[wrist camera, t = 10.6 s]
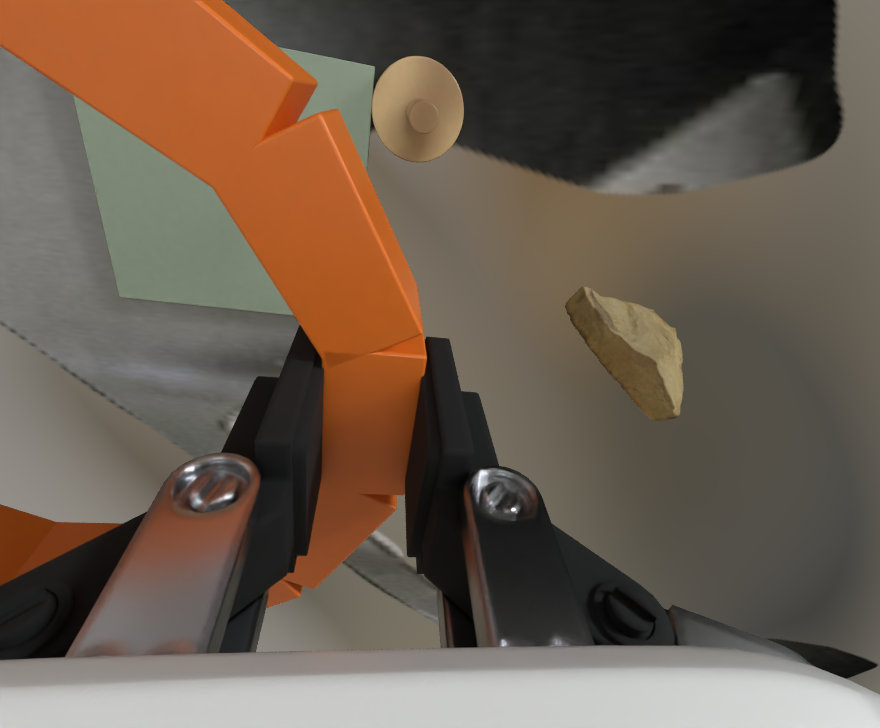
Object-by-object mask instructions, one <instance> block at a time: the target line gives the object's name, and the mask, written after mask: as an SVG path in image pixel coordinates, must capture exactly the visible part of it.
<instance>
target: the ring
mask: <svg viewBox="0 0 880 728" xmlns="http://www.w3.org/2000/svg"><path fill="white" fill-rule="evenodd" d="M0 46H1V47H3V48H4V49H6V50H7V51H9V52H10V53H12V54H13V55H15V56H16V57H18V58H19V59H21V60H22V61H24V62H25V63H27V64H28V65H30V66H31V67H33V68H34V69H36V70H37V71H39V72H40V73H42V74H43V75H45V76H46V77H48V78H49V79H51V80H52V81H54V82H55V83H57V84H58V85H60V86H61V87H63V88H64V89H66V90H67V91H69V92H70V93H72V94H73V95H75V96H76V97H78V98H79V99H81V100H82V101H84V102H85V103H87V104H88V105H90V106H91V107H93V108H94V109H96V110H97V111H99V112H100V113H102V114H103V115H104V116H106V117H107V118H109V119H110V120H112V121H113V122H115V123H116V124H118V125H119V126H121V127H122V128H124V129H125V130H127V131H128V132H130V133H131V134H133V135H134V136H136V137H137V138H139V139H140V140H142V141H143V142H145V143H146V144H148V145H149V146H151V147H152V148H154V149H155V150H157V151H158V152H160V153H161V154H163V155H164V156H166V157H167V158H169V159H170V160H172V161H173V162H175V163H176V164H178V165H179V166H181V167H182V168H184V169H185V170H187V171H188V172H190V173H191V174H193V175H194V176H196V177H197V178H199V179H200V180H202V181H203V182H205V183H206V184H208V185H209V186H211V187H212V188H213V189H214V191H215V192H216V194H217V195H218V197H219V199H220V200H221V202H222V203H223V205H224V206H225V208H226V210H227V211H228V213H229V214H230V216H231V217H232V219H233V220H234V222H235V224H236V225H237V227H238V228H239V230H240V231H241V233H242V235H243V236H244V238H245V239H246V241H247V242H248V244H249V246H250V247H251V249H252V250H253V252H254V253H255V255H256V256H257V258H258V260H259V261H260V263H261V264H262V266H263V267H264V269H265V271H266V272H267V274H268V275H269V277H270V278H271V280H272V282H273V283H274V285H275V286H276V288H277V289H278V291H279V292H280V294H281V296H282V297H283V299H284V300H285V302H286V303H287V305H288V307H289V308H290V310H291V311H292V313H293V314H294V316H295V318H296V319H297V321H298V322H299V324H300V325H301V327H302V328H303V330H304V332H305V333H306V335H307V336H308V338H309V339H310V341H311V343H312V344H313V346H314V347H315V349H316V350H317V352H318V353H319V355H320V357H321V358H322V368H323V369H324V388H323V430H322V472H321V483H320V489H319V494H318V500H317V505H316V511H315V517H314V522H313V528H312V533H311V539H310V544H309V550H308V554H307V556H297V560H296V565H295V570H294V573H287V576H285V577H284V578H283V579H281V580H280V581H279V582H277V583H276V584H275V585H273V586H272V587H271V588H269V597H268V601H267V606H266V608H268V607H271V606H274V605H277V604H280V603H283V602H286V601H289V600H292V599H295V598H298V597H300V596H301V592H302V587H303V586H305V587H308V588H311V589H315V588H316V587H317V586H318V585H319V584H320V583H322V581H323V580H324V579H326V577H328V576H329V575H330V574H331V573H332V572H333V571H334V570H335V569H336V568H337V567H338V566H339V565H340V564H341V563H342V562H343V561H344V560H345V559H346V558H347V557H348V556H349V555H350V554H351V553H352V552H353V551H354V550H355V549H356V548H357V547H358V546H360V545H361V544H362V543H363V542H364V541H365V540H366V539H367V538H368V537H369V536H370V535H371V534H372V533H373V532H374V531H375V530H376V529H377V528H378V527H379V526H380V525H381V524H382V523H383V522H384V521H385V520H386V519H387V518H388V517H389V516H390V515H391V514H392V513H393V512H394V511H395V510H396V509H397V495H404V494H405V477H406V471H407V465H408V459H409V452H410V446H411V440H412V434H413V427H414V421H415V415H416V409H417V403H418V396H419V390H420V384H421V378H422V377H423V376H424V374H425V368H426V361H427V354H426V347H425V339H424V332H423V324H422V317H421V310H420V304H419V297H418V289H417V284H416V282H415V280H414V278H413V275H412V273H411V271H410V269H409V266H408V264H407V262H406V260H405V257H404V255H403V253H402V251H401V249H400V246H399V244H398V242H397V240H396V237H395V235H394V233H393V230H392V228H391V226H390V224H389V222H388V219H387V217H386V215H385V212H384V210H383V208H382V206H381V203H380V201H379V199H378V197H377V194H376V192H375V190H374V188H373V186H372V183H371V181H370V179H369V176H368V174H367V172H366V170H365V167H364V165H363V163H362V161H361V158H360V156H359V154H358V152H357V149H356V147H355V145H354V143H353V140H352V138H351V136H350V134H349V131H348V129H347V127H346V125H345V122H344V120H343V118H342V116H341V113H340V111H339V110H338V109H331V110H327V111H323V112H319V113H316V114H314V115H312V116H309V117H307V118H305V119H303V120H301V121H299V122H297V121H298V119H299V117H300V116H301V114H302V112H303V110H304V109H305V107H306V105H307V103H308V102H309V100H310V98H311V96H312V95H313V93H314V91H315V89H316V88H317V86H318V82H317V80H316V79H315V78H314V77H312V76H311V75H310V74H309V73H308V72H307V71H305V70H304V69H303V68H302V67H301V66H299V65H298V64H297V63H296V62H295V61H294V60H292V59H291V58H290V57H289V56H288V55H286V54H285V53H284V52H283V51H282V50H281V49H279V48H278V47H277V46H276V45H275V44H273V43H272V42H271V41H270V40H269V39H268V38H266V37H265V36H264V35H263V34H262V33H260V32H259V31H258V30H257V29H256V28H255V27H253V26H252V25H251V24H250V23H249V22H248V21H246V20H245V19H244V18H243V17H242V16H240V15H239V14H238V13H237V12H236V11H235V10H233V9H232V8H231V7H230V6H229V5H227V4H226V3H225V2H224V1H223V0H0ZM120 525H122V524H114V523H112V524H111V523H68V522H54V521H51V520H48V519H45V518H42V517H38V516H35V515H32V514H29V513H26V512H22V511H19V510H16V509H13V508H10V507H7V506H3V505H0V586H1V585H3V584H5V583H7V582H9V581H11V580H13V579H15V578H17V577H18V576H20V575H22V574H24V573H26V572H28V571H30V570H32V569H34V568H36V567H38V566H40V565H42V564H44V563H46V562H48V561H50V560H52V559H54V558H56V557H58V556H60V555H62V554H64V553H66V552H68V551H70V550H72V549H74V548H76V547H78V546H80V545H82V544H84V543H86V542H88V541H90V540H92V539H94V538H96V537H98V536H100V535H102V534H104V533H106V532H108V531H110V530H112V529H114V528H116V527H118V526H120Z"/></svg>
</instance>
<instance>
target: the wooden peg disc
mask: <svg viewBox="0 0 880 728" xmlns="http://www.w3.org/2000/svg"><path fill="white" fill-rule="evenodd" d="M463 115H464V105H463V98H462V94H461V91H460V88H459V86H458V84H457V82H456V80H455V78H454V77H453V75H452V74H451V73H450V72H449V71H448V69H447V68H445V67H444V66H443V65H442V64H440V63H439V62H437V61H435V60H433V59H431V58H427V57H423V56H410V57H406V58H403V59H400V60H398V61H396V62H395V63H393V64H392V65H391V66H389V67H388V68H387V69H386V70H385V71H384V73H383V74H382V75H381V77H380V78H379V80H378V82H377V84H376V87H375V89H374V93H373V98H372V118H373V123H374V126H375V129H376V132H377V134H378V136H379V138H380V139H381V141H382V142H383V144H384V145H385V146H386V147H387V148H388V149H389V150H390V151H391V152H392V153H393V154H395V155H396V156H398V157H400V158H401V159H404V160H407V161H411V162H427V161H431V160H433V159H436V158H438V157H440V156H441V155H443V154H444V153H445V152H446V151H447V150H449V148H450V147H451V146H452V145H453V144H454V142H455V140H456V139H457V137H458V135H459V133H460V130H461V127H462V122H463Z"/></svg>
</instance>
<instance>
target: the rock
mask: <svg viewBox="0 0 880 728" xmlns="http://www.w3.org/2000/svg"><path fill="white" fill-rule="evenodd" d="M565 308H566V310H567V313H568V314H569V316H570V320H571V322H572V324H573V325H574V327H575V328H576V329H577V330H578V332H579V333H580V335H581V336H582V337H583V338H584V340H585V342H586V344H587V345H588V347H589V348H590V349H591V351H592V352H593V353H594V354H595V355H596V356H597V358H598V359H599V361H600V363H601V364H602V365H603V366H604V367H605V368H606V370H607V371H608V372H609V374H610V375H611V376H612V377H613V379H614V380H616V381H617V382H618V383H619V384H620V385H621V387H622V388H623V389H624V390H625V391H626V392H627V394H628V395H629V396H630V397H631V399H632V400H633V401H634V402H635V403H636V405H637V406H638V407H639V408H640V409H641V410H642V412H643V413H644V414H645V415H646V416H648V417H649V418H650V419H651V420H653V421H661V420H667V419H674V418H676V417H678V416H679V415H680V404H681V401H682V393H683V381H682V377H683V375H682V371H681V364H682V362H683V359H682V354H683V353H682V350H681V344H680V341H679V340H678V339H677V337H676V336H677V334H676V329H675V328H671V327H670V326H669V325H668V324H667V323H665V322H664V321H663V320H662V319H661V318H660V316H658V315H657V314H656V313H654V310H652V309H647V308H645V307H643V306H641V305H639V304H634V303H631V302H623V301H619V300H618V299H617V298H612V297H602V296H599V295H598V294H597V293H596V292H594V290H592V289H591V288H587V287H584V286H583V287H581V288H580V289H579V290H578V291H577V292H576V293H575V295H573V296H572V297H571V298H570V299H569V300H568V302H567V303H566V305H565Z"/></svg>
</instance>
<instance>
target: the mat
mask: <svg viewBox="0 0 880 728" xmlns="http://www.w3.org/2000/svg"><path fill="white" fill-rule="evenodd" d="M278 48H279V49H281V50H282V51H283V52H284V53H285V54H286V55H288V56H289V57H290V58H291V59H292V60H294V61H295V62H296V63H297V64H298V65H299V66H301V67H302V68H303V69H304V70H305V71H307V72H308V73H309V74H310V75H311V76H312V77H314V78H315V79H316V80H317V82H318V86H317V88H316V89H315V91H314V93H313V95H312V96H311V98H310V100H309V102H308V103H307V105H306V107H305V109H304V110H303V112H302V114H301V116H300V117H299V119H298V121H297V122H299V121H301V120H303V119H305V118H307V117H309V116H312V115H314V114H316V113H319V112H323V111H327V110H331V109H338V110H339V111H340V113H341V116H342V118H343V120H344V122H345V125H346V127H347V129H348V131H349V134H350V136H351V138H352V140H353V143H354V145H355V147H356V149H357V152H358V154H359V156H360V158H361V161H362V163H363V165H364V167H365V170H366V172H367V168H368V154H369V140H370V127H371V114H372V98H373V86H374V73H375V67H374V66H369V65H365V64H360V63H355V62H350V61H345V60H340V59H335V58H330V57H325V56H320V55H315V54H310V53H305V52H300V51H295V50H290V49H285V48H280V47H278ZM73 98H74V103H75V107H76V111H77V116H78V120H79V124H80V129H81V133H82V137H83V142H84V146H85V150H86V154H87V159H88V163H89V167H90V172H91V176H92V180H93V185H94V189H95V193H96V198H97V202H98V206H99V210H100V215H101V219H102V223H103V228H104V232H105V236H106V241H107V245H108V249H109V254H110V258H111V262H112V266H113V271H114V275H115V279H116V284H117V288H118V292H119V297H123V298H132V299H142V300H151V301H161V302H170V303H180V304H189V305H199V306H208V307H218V308H227V309H237V310H246V311H256V312H265V313H275V314H284V315H294V314H293V313H292V311H291V310H290V308H289V307H288V305H287V303H286V302H285V300H284V299H283V297H282V296H281V294H280V292H279V291H278V289H277V288H276V286H275V285H274V283H273V282H272V280H271V278H270V277H269V275H268V274H267V272H266V271H265V269H264V267H263V266H262V264H261V263H260V261H259V260H258V258H257V256H256V255H255V253H254V252H253V250H252V249H251V247H250V246H249V244H248V242H247V241H246V239H245V238H244V236H243V235H242V233H241V231H240V230H239V228H238V227H237V225H236V224H235V222H234V220H233V219H232V217H231V216H230V214H229V213H228V211H227V210H226V208H225V206H224V205H223V203H222V202H221V200H220V199H219V197H218V195H217V194H216V192H215V191H214V189H213V188H212V187H211V186H209V185H208V184H206V183H205V182H203V181H202V180H200V179H199V178H197V177H196V176H194V175H193V174H191V173H190V172H188V171H187V170H185V169H184V168H182V167H181V166H179V165H178V164H176V163H175V162H173V161H172V160H170V159H169V158H167V157H166V156H164V155H163V154H161V153H160V152H158V151H157V150H155V149H154V148H152V147H151V146H149V145H148V144H146V143H145V142H143V141H142V140H140V139H139V138H137V137H136V136H134V135H133V134H131V133H130V132H128V131H127V130H125V129H124V128H122V127H121V126H119V125H118V124H116V123H115V122H113V121H112V120H110V119H109V118H107V117H106V116H104V115H103V114H102V113H100V112H99V111H97V110H96V109H94V108H93V107H91V106H90V105H88V104H87V103H85V102H84V101H82V100H81V99H79V98H78V97H76V96H75V95H73Z"/></svg>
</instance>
